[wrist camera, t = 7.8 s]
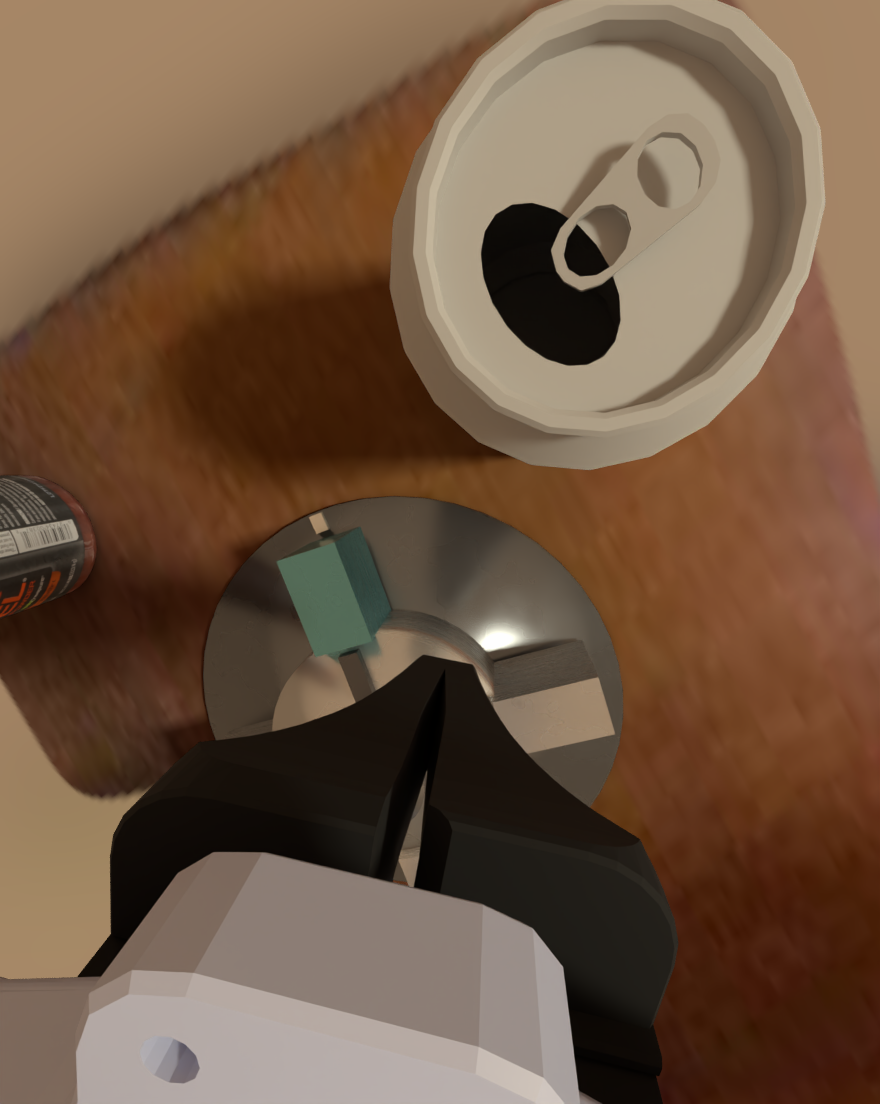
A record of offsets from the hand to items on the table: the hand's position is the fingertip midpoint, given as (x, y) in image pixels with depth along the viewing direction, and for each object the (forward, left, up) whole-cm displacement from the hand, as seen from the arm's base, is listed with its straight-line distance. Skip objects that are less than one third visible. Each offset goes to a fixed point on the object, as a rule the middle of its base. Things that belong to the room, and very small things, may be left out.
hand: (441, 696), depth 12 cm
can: (+9, -2, -10) cm, 14 cm away
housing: (-7, +2, -10) cm, 12 cm away
